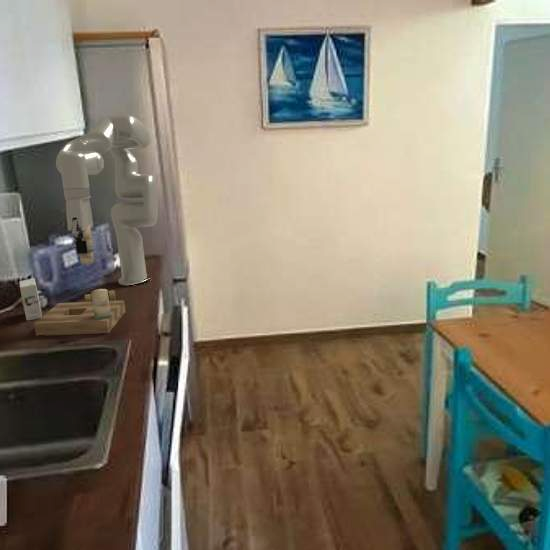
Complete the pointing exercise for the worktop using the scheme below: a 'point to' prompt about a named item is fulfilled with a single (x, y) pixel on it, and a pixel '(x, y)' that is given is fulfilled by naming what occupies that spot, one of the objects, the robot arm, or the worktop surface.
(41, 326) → the board
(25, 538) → the worktop surface
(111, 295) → the gavel
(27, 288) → the ink box
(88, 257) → the peg
